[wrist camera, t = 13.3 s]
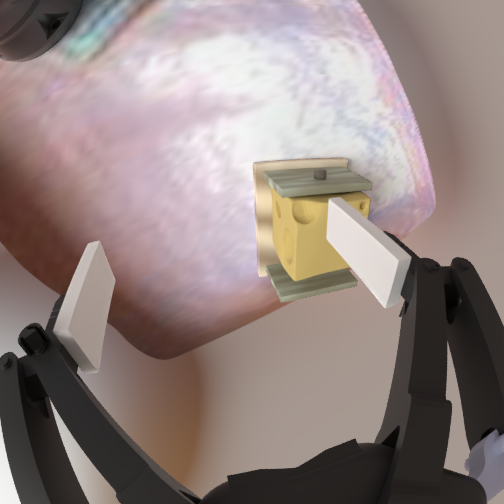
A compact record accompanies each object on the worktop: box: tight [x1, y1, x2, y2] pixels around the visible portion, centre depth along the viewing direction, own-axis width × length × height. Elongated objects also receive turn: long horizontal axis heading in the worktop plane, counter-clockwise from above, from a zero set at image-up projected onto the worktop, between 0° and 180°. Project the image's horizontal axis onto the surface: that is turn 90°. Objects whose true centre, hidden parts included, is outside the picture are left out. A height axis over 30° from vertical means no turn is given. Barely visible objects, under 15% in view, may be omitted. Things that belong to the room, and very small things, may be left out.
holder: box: [253, 158, 372, 303], centre depth 40 cm, size 18×14×10 cm
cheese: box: [271, 187, 371, 281], centre depth 37 cm, size 10×11×10 cm
